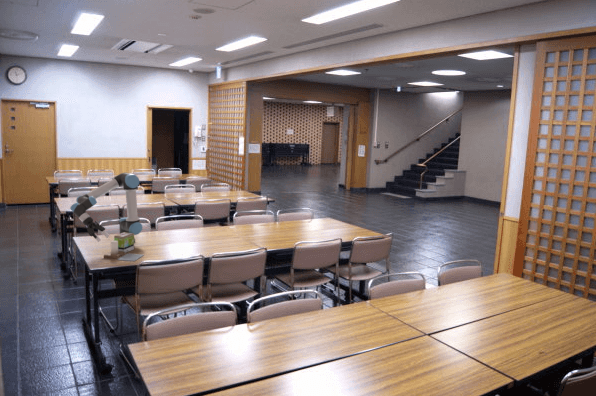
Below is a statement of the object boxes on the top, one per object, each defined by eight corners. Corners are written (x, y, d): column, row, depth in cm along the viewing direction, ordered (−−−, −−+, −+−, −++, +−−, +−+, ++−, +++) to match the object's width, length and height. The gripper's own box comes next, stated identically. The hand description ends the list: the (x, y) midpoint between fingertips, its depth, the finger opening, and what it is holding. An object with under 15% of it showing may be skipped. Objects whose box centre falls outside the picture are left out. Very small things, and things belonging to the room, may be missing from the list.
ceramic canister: (112, 252, 379) (112, 240, 378) (119, 252, 379) (119, 240, 377) (109, 254, 374) (109, 242, 372) (116, 254, 373) (115, 242, 372)
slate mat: (127, 254, 385) (127, 253, 385) (143, 255, 384) (143, 254, 384) (117, 260, 367) (117, 259, 367) (134, 261, 366) (134, 260, 366)
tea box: (124, 253, 385) (124, 236, 383) (113, 252, 387) (113, 235, 385) (134, 249, 400) (134, 232, 398) (123, 248, 402) (123, 231, 400)
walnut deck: (112, 253, 384) (112, 250, 384) (124, 254, 383) (124, 251, 383) (103, 258, 370) (103, 255, 370) (116, 259, 369) (116, 256, 369)
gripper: (91, 219, 387) (108, 238, 388) (74, 225, 362) (92, 245, 363) (97, 213, 385) (114, 232, 386) (80, 219, 361) (99, 239, 362)
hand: (104, 238), depth 375 cm, fingers open, 13 cm apart
